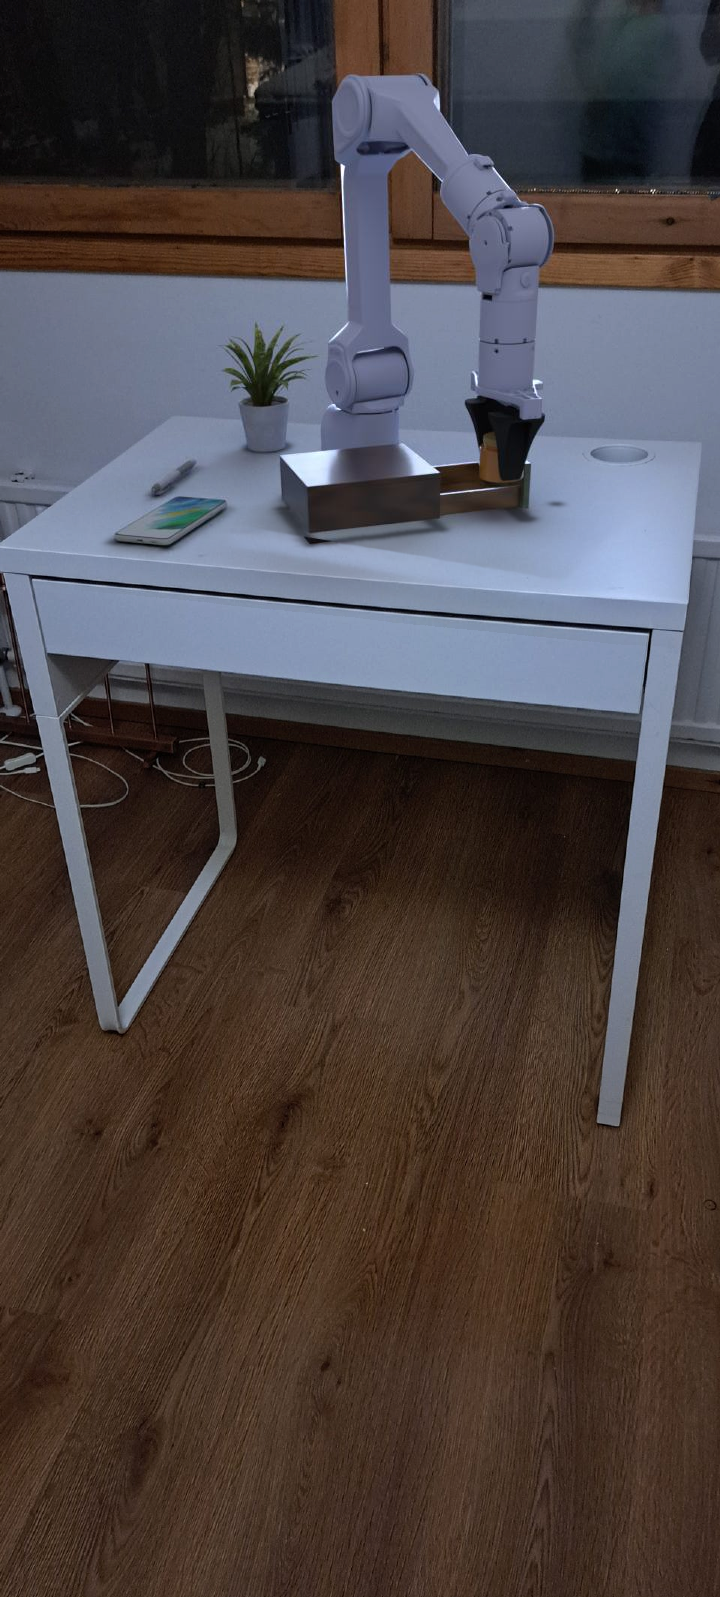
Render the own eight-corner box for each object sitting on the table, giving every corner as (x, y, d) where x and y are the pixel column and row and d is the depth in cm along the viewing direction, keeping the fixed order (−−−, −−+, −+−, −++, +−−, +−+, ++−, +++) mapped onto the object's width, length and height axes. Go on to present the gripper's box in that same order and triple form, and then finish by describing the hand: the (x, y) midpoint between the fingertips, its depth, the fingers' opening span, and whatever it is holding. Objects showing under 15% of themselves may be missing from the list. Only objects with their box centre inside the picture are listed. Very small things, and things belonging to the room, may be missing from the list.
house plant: (273, 469, 153) (266, 338, 144) (192, 454, 159) (181, 328, 151) (334, 444, 163) (330, 320, 154) (256, 431, 169) (248, 312, 161)
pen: (149, 498, 143) (147, 486, 142) (192, 466, 154) (191, 456, 153) (156, 498, 143) (155, 487, 142) (199, 467, 154) (198, 456, 153)
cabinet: (403, 495, 142) (403, 443, 138) (439, 529, 131) (440, 472, 127) (282, 509, 138) (279, 455, 135) (309, 544, 127) (307, 486, 124)
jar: (471, 479, 124) (472, 438, 122) (489, 467, 128) (490, 428, 126) (513, 484, 122) (515, 443, 120) (530, 473, 126) (532, 432, 124)
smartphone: (111, 534, 129) (176, 495, 140) (112, 542, 129) (177, 502, 141) (168, 540, 126) (229, 499, 138) (169, 547, 127) (230, 506, 139)
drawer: (494, 483, 144) (496, 433, 141) (537, 515, 133) (541, 462, 130) (370, 497, 141) (369, 446, 137) (404, 530, 130) (404, 476, 126)
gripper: (574, 349, 113) (563, 487, 120) (515, 325, 125) (509, 452, 132) (506, 354, 111) (500, 494, 118) (454, 329, 123) (451, 458, 130)
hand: (501, 472), depth 125 cm, fingers closed on jar, 5 cm apart
